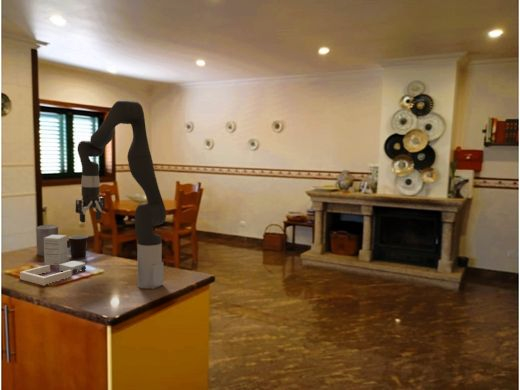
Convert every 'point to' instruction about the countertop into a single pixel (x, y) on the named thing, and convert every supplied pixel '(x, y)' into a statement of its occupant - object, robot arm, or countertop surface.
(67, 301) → the countertop surface
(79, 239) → the coffee mug
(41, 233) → the pillar candle
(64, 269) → the white box with feet
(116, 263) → the countertop surface
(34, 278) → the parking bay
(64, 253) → the supplement box
